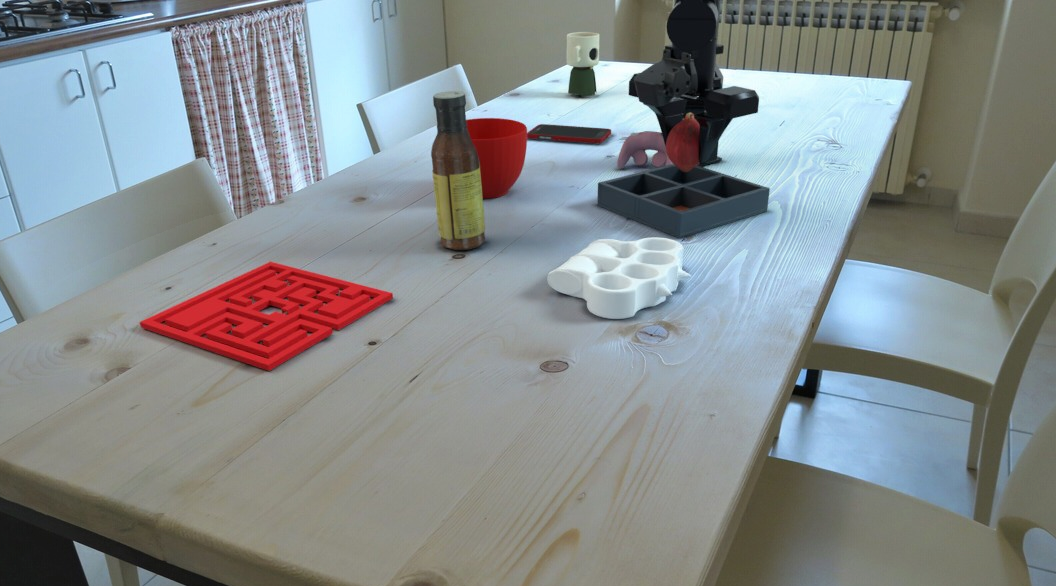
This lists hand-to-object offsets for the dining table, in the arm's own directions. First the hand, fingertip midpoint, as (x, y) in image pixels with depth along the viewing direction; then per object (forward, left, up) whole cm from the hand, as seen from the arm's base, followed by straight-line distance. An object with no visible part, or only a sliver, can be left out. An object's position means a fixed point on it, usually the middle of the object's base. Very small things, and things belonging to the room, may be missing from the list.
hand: (686, 157), depth 121 cm
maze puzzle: (-7, -58, -9) cm, 59 cm away
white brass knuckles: (+12, -21, -9) cm, 26 cm away
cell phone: (-46, +16, -9) cm, 50 cm away
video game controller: (-22, +14, -9) cm, 28 cm away
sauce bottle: (-12, -29, -9) cm, 33 cm away
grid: (-4, +4, -9) cm, 11 cm away
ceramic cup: (-28, -16, -9) cm, 34 cm away
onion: (0, 0, -2) cm, 2 cm away
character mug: (-72, +40, -9) cm, 83 cm away
